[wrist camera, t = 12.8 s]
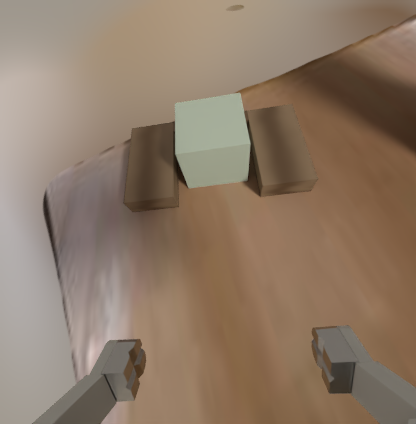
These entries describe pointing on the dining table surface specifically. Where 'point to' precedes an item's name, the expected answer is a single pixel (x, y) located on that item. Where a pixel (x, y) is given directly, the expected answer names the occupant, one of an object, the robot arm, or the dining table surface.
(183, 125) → the sage block
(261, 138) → the dock block
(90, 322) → the dining table surface
